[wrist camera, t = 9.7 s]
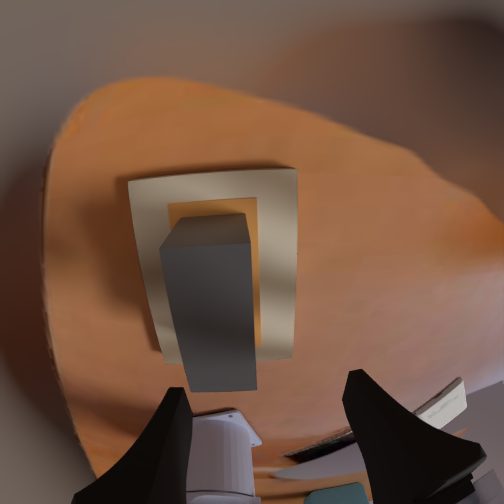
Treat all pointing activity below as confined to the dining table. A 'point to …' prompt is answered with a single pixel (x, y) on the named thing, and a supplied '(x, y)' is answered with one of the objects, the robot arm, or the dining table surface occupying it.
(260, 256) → the board
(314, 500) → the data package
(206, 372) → the block
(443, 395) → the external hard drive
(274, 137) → the dining table surface
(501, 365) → the dining table surface
